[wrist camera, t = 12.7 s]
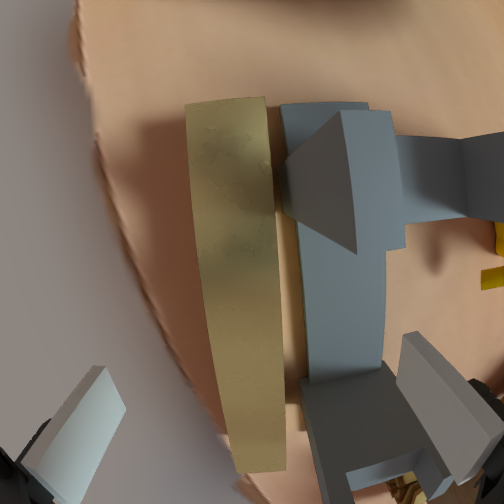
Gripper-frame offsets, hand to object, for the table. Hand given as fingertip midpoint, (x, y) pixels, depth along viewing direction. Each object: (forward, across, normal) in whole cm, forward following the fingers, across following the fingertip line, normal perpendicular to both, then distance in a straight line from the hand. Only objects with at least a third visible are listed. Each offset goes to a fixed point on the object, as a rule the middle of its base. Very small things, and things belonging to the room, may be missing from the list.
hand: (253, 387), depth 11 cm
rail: (+9, -1, -1) cm, 9 cm away
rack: (+9, +6, -1) cm, 11 cm away
